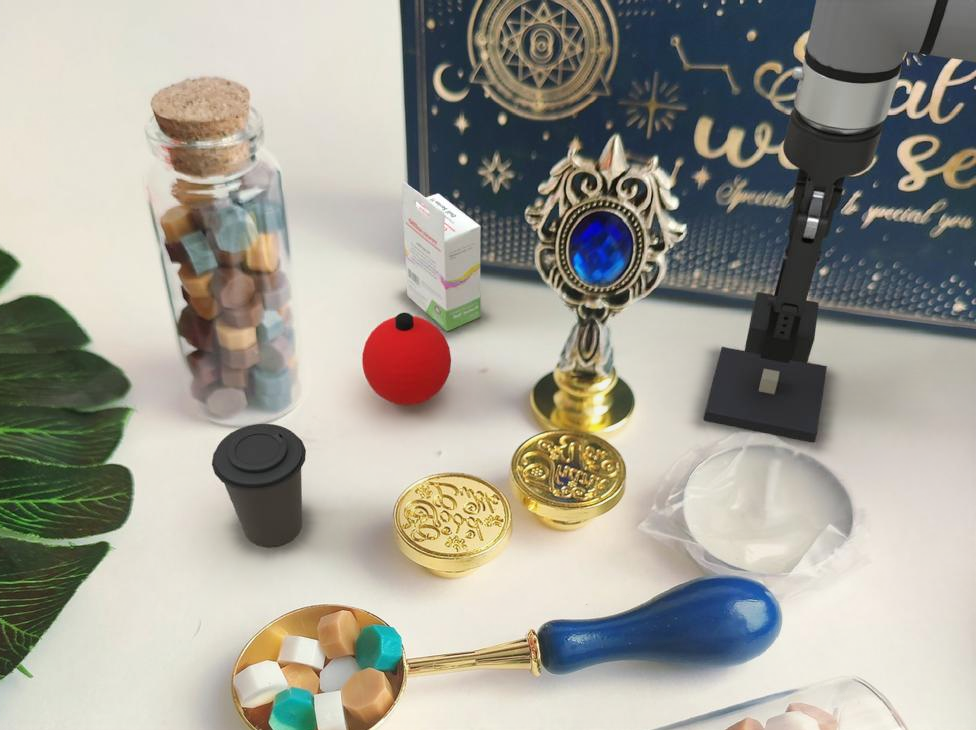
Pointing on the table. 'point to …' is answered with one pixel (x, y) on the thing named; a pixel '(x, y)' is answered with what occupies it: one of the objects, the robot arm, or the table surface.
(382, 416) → the table surface
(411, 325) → the ornament
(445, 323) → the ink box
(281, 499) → the coffee cup
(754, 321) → the dark grey square block
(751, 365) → the base pad
